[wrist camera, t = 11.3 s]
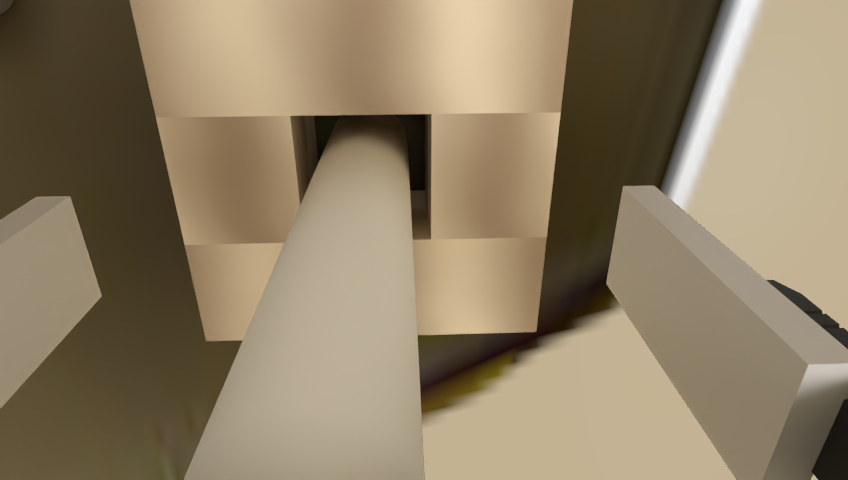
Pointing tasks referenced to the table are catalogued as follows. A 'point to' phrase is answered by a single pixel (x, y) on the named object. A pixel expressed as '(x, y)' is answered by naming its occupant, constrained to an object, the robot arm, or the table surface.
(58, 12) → the table surface
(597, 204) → the table surface
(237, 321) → the block
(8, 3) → the short pin
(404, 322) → the long pin
